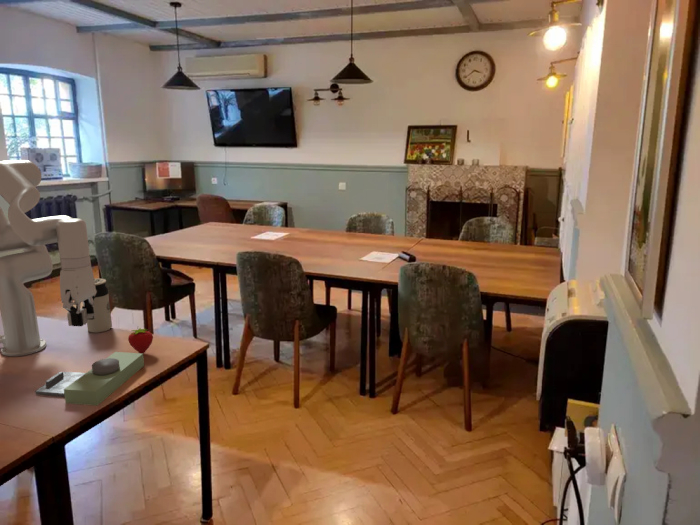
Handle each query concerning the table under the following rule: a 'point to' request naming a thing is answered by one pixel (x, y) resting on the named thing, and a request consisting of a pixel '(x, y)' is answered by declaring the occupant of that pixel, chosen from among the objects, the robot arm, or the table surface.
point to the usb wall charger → (84, 315)
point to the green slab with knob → (103, 378)
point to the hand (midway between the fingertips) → (83, 321)
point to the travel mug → (100, 309)
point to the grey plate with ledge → (58, 384)
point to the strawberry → (140, 340)
